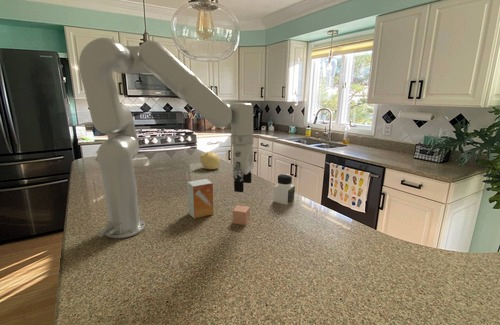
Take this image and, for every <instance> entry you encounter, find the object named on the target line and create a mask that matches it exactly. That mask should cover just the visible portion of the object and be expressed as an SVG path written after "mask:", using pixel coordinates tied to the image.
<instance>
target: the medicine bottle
mask: <svg viewBox="0 0 500 325" xmlns="http://www.w3.org/2000/svg"><path fill="white" fill-rule="evenodd" d="M292 178H293V176H292V175H290V174H287V173H281V174H278V175H277V184H276V185H274V186H273V192H272V193H273V195H272V196H273V197H272V199H273V200H272V201H273V203H278V204H280V205H281V204H282V205H286V206H288V205H290V204H291V203H292V202H293V201H295V193H296V192H295V191H296V190H295V189H296V185H295V184H292V182H293V181H292V180H293V179H292Z"/></svg>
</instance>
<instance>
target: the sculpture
mask: <svg viewBox="0 0 500 325" xmlns="http://www.w3.org/2000/svg"><path fill="white" fill-rule="evenodd" d="M199 161H200V162H199V163H201V166H202V168H204V169H206V170H216V169H218V168H219V167H220V164H221V159H220V157H219V155H218V154H217V153H216V152H214V151H206V152H205V153H203V154H201V155H200V156H199Z"/></svg>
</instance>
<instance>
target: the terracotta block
mask: <svg viewBox="0 0 500 325" xmlns="http://www.w3.org/2000/svg"><path fill="white" fill-rule="evenodd" d="M250 219H251V206H246V205H238V204H237V205H236V206H235V207H234V209H233V210H232V224H236V225H243V226H247V224H248V222H249V221H250Z"/></svg>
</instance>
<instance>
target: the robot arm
mask: <svg viewBox="0 0 500 325" xmlns="http://www.w3.org/2000/svg"><path fill="white" fill-rule="evenodd" d="M78 69H79V70H78V71H79V75H80V79H81V83H82V86H83V90H84V93H85V99H86V103H87V106H88V110H89V111H88V112H89V114H90V119H91V123H92V125H93V127H94V128H95V129H96V131H98V132H99V133H102V134H105V135H106V136H107V139H106V140H104V141H103V142H102V143H101V144H100V145H99V147H98V149H97V153H96V155H97V156H96V158H97V159H96V160H97V162H98V163H97V164H98V165H99V170H100V173H101V177H102V184H103V190H104V198H105V205H106V212H107V221H106V222H105V226H104V228H101V229H100V230H98V231H97V232H96V235H97V237H99V238H102V237H103V236H105V237H108V238H111V239H125V238H129V237H132V236H135V235H138V234H139V233H141V232H142V231H143V230H144V229H145V227H146V222H145V220H144V219H141V217H140V210H139V208H140V207H139V200H138V199H139V198H138V188H137V187H138V186H137V179H136V178H137V177H136V172H135V169H134V164H133V159H135V158H136V157H137V155H138V153H139V151H140V150H139V148H140V144H139V139H138V134H137V130H136V126H135V122H134V118H133V117H134V116H133V115H132V112H131V110H130V109H129V108H128V107H127V106H126V105H125V104H123V103H121V102H120V98H119V94H118V89H117V85H116V83H115V80H114V77H113V76H114V74H113V73H117V74H118V73H119V74H152V75H153V77H155V78H157V80H159V82H161V83H162V84H163V85H165V86H166V87H167V89H169V90H170V91H172V92H173V93H174V94H175V95H176V96H177V97H178V98H179V99H181V100H182V101H184V102H185V103H186V104H188V105H189V106H190V107H191V108H192V109H193V110H195V111H196V112H197V113H198V114H199V115H201V117H202V118H204V119H205V120H206V121H207V122H209V123H210V124H211V125H212V126H214V127H215V128H219V129H220V128H221V129H222V128H225V127H227V126H229V125H230V134H231V135H230V136H231V137H230V139H231V141H230V142H231V146H232V174H233V176H232V177H233V191H234V192H235V193H243V192H244V188H245V187H244V184H252V170H253V169H254V166H255V165H254V164H255V163H254V148H253V144H254V106H253V104H252V103H250V102H249V103H248V102H235V103H226V102H224V101H223V100H222V99H221V98H220V97H219V96H217V94H215V93H214V92H213V91H212V90H211V89H210V88H208V86H207V85H205V83H204V82H202V81H201V79H200V78H199V77H198V76H197V75H196V74H194V72H193V71H192V70H190V69H189V68H188V67H187V66H186V65H185V64H184V63H183V62H181V61H180V60H179V59H178V58H177V57H176V56H175V55H174V54H172V53H171V52H170V51H169V50H168V49H167V47H165V46H164V45H162V44H161V43H160V42H158V41H156V40H146V41H144V42H143V43H141V44H140V45H138V46H137V45H135V46H134V45H123V44H122V43H120V42H118V41H117V40H115V39H113V38H109V37H99V38H96V39H95V38H94V39H93V40H91V41H90V42H88V43H87V44H86V45H85V46H84V47H83V49H82V50H81V52H80V55H79V58H78Z"/></svg>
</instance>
